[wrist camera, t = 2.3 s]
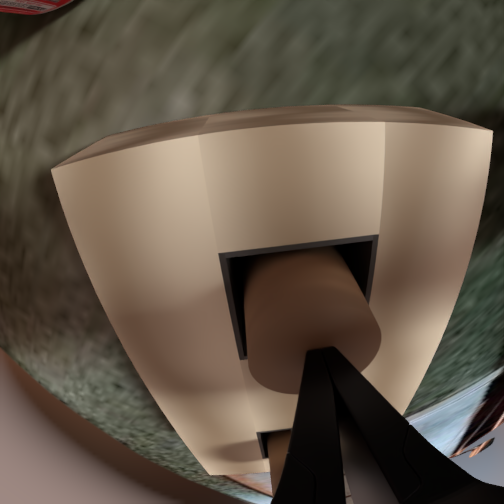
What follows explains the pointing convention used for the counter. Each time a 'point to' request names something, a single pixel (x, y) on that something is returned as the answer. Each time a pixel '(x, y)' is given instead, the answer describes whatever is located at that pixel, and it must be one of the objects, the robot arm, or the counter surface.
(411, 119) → the block
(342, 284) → the peg
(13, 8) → the soda can
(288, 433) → the peg
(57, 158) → the counter surface
